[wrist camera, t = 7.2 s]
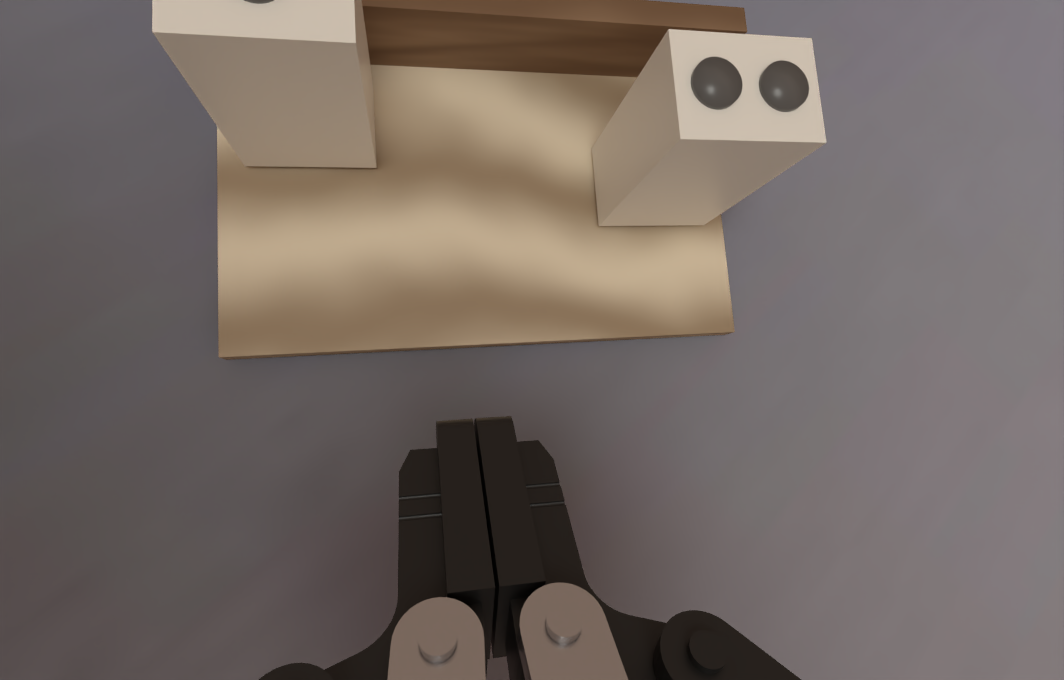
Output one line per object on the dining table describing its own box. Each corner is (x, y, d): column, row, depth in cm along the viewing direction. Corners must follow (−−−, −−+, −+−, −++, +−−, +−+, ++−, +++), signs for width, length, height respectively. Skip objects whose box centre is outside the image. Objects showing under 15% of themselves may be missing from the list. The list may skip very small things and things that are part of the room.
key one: (376, 167, 26) (354, 37, 17) (244, 166, 25) (148, 26, 16) (373, 86, 27) (350, -82, 18) (243, 81, 26) (149, -102, 17)
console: (724, 334, 30) (783, 318, 25) (226, 359, 25) (180, 345, 20) (693, 67, 32) (743, 3, 27) (223, 42, 27) (180, -40, 22)
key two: (703, 225, 29) (831, 139, 20) (598, 226, 28) (684, 135, 19) (695, 150, 30) (816, 33, 21) (591, 148, 29) (671, 24, 20)
